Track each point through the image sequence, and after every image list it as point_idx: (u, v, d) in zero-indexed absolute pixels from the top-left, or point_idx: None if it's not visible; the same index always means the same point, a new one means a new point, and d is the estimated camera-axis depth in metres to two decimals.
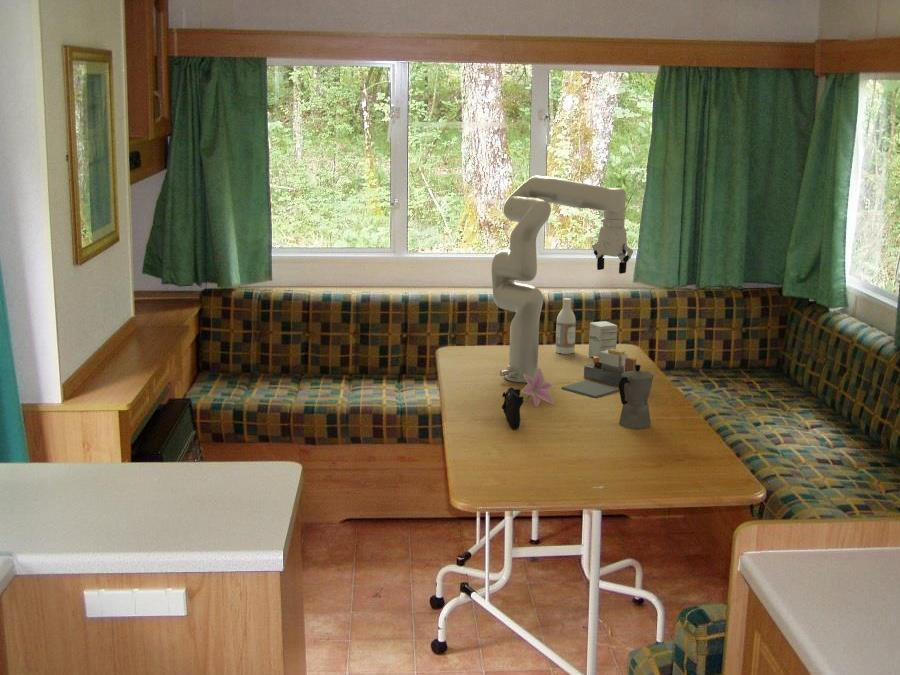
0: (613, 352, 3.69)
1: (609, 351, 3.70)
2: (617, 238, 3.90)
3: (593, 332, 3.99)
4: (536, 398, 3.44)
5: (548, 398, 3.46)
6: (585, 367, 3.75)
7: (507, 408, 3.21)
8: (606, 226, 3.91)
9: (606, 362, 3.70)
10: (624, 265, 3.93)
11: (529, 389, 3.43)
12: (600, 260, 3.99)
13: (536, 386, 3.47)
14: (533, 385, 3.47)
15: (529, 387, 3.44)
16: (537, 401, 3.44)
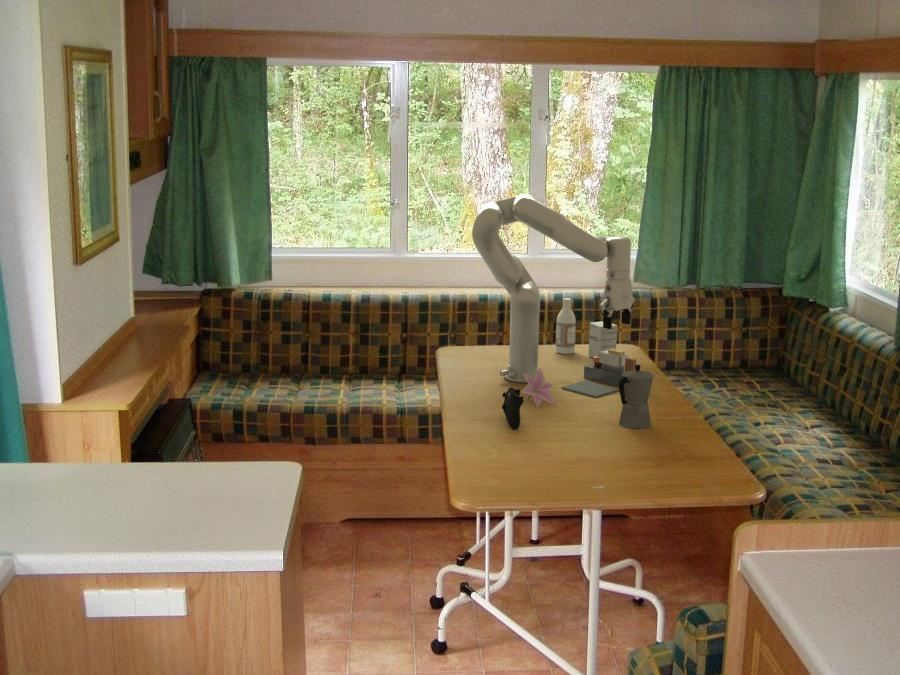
0: (613, 352, 3.69)
1: (609, 351, 3.70)
2: (631, 288, 3.66)
3: (593, 332, 3.99)
4: (537, 398, 3.44)
5: (549, 398, 3.46)
6: (585, 367, 3.75)
7: (507, 408, 3.21)
8: (626, 278, 3.62)
9: (606, 362, 3.70)
10: None
11: (530, 389, 3.43)
12: None
13: (537, 386, 3.47)
14: (534, 385, 3.46)
15: (530, 387, 3.44)
16: (538, 401, 3.44)
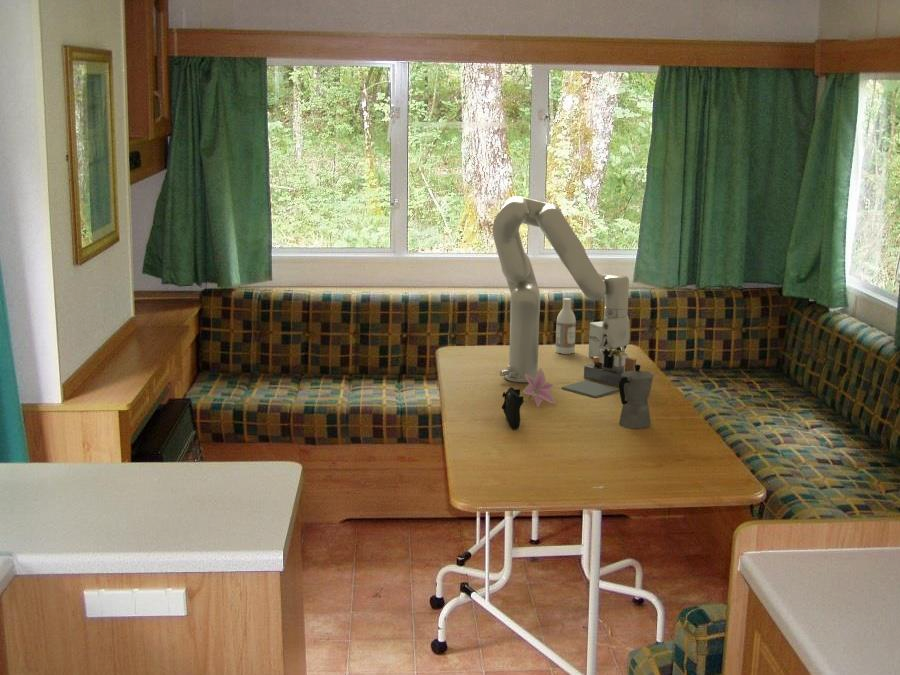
0: (613, 352, 3.69)
1: None
2: (628, 326, 3.69)
3: (593, 332, 3.99)
4: (538, 398, 3.44)
5: (550, 398, 3.46)
6: (585, 367, 3.75)
7: (507, 408, 3.21)
8: (624, 317, 3.65)
9: None
10: None
11: (531, 390, 3.43)
12: None
13: (537, 386, 3.47)
14: (534, 385, 3.46)
15: (531, 387, 3.44)
16: (538, 401, 3.44)
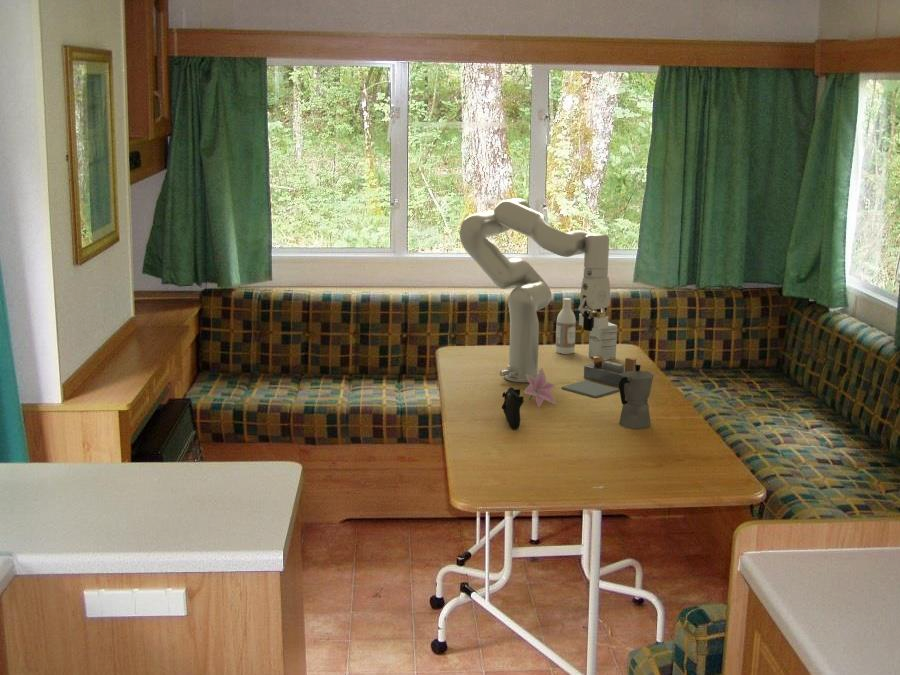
0: (593, 314, 3.54)
1: None
2: (609, 286, 3.55)
3: (593, 332, 3.99)
4: (539, 398, 3.44)
5: (551, 398, 3.46)
6: (585, 367, 3.75)
7: (507, 408, 3.21)
8: (604, 277, 3.50)
9: None
10: None
11: (532, 390, 3.43)
12: None
13: (538, 386, 3.47)
14: (535, 385, 3.46)
15: (532, 387, 3.44)
16: (539, 401, 3.44)
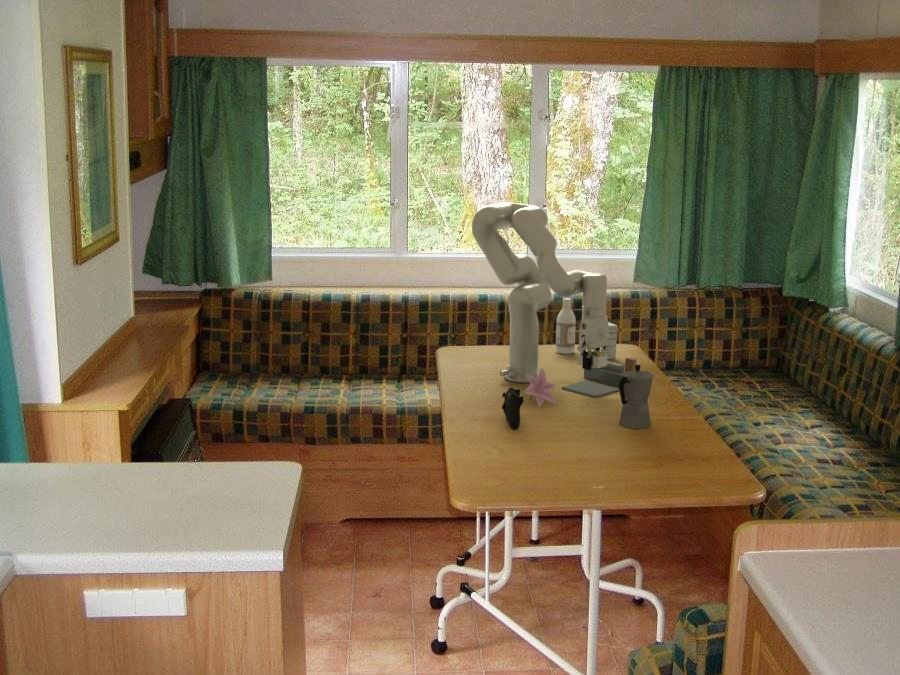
0: (592, 353, 3.57)
1: None
2: (607, 325, 3.58)
3: None
4: (540, 398, 3.44)
5: (551, 398, 3.46)
6: None
7: (507, 408, 3.21)
8: (602, 316, 3.53)
9: None
10: None
11: (532, 390, 3.43)
12: None
13: (539, 386, 3.47)
14: (536, 385, 3.46)
15: (532, 387, 3.44)
16: (540, 401, 3.44)
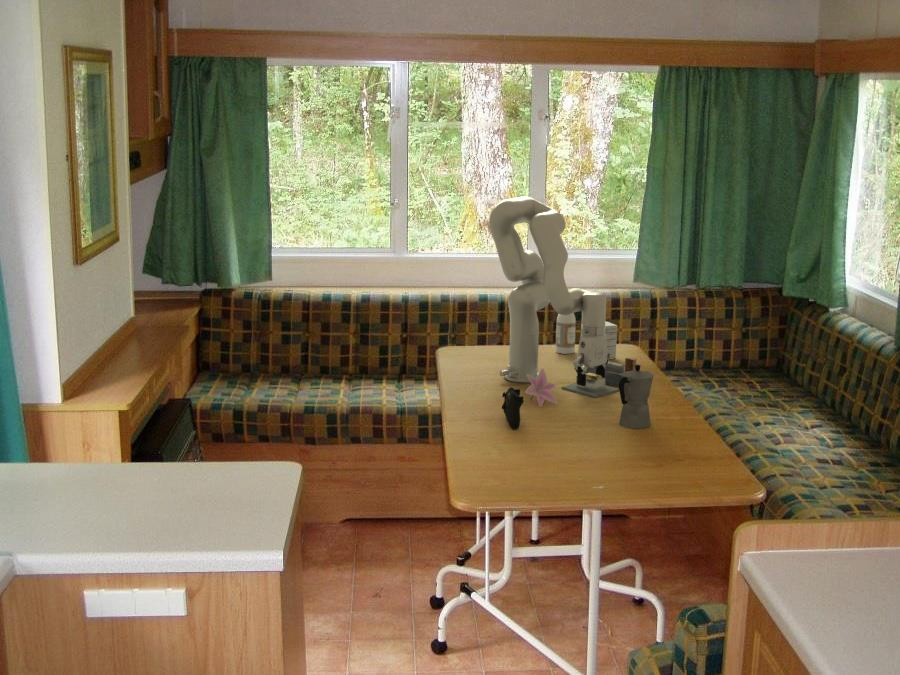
0: (590, 376, 3.59)
1: (586, 375, 3.60)
2: (606, 344, 3.59)
3: None
4: (540, 398, 3.44)
5: (552, 398, 3.46)
6: None
7: (507, 408, 3.21)
8: (601, 335, 3.55)
9: (583, 387, 3.60)
10: None
11: (533, 390, 3.43)
12: None
13: (539, 386, 3.47)
14: (536, 385, 3.46)
15: (533, 387, 3.43)
16: (541, 401, 3.43)
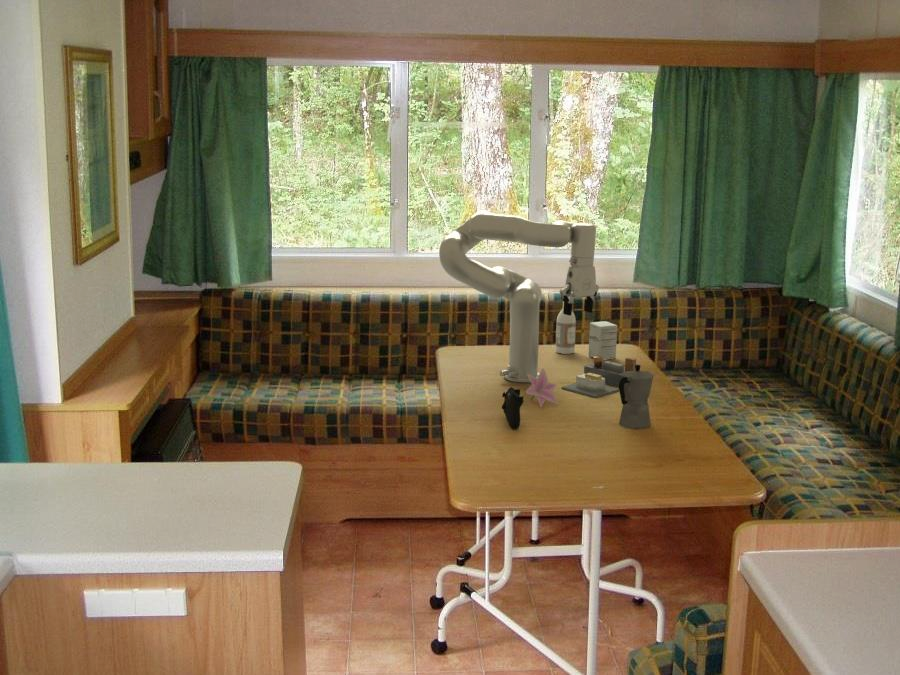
0: (590, 376, 3.59)
1: (586, 375, 3.60)
2: (594, 276, 3.64)
3: (593, 332, 3.99)
4: (541, 398, 3.44)
5: (553, 398, 3.46)
6: (585, 367, 3.75)
7: (507, 408, 3.21)
8: (589, 266, 3.60)
9: (583, 387, 3.60)
10: None
11: (534, 390, 3.43)
12: None
13: (540, 386, 3.47)
14: (537, 385, 3.46)
15: (533, 387, 3.43)
16: (541, 401, 3.43)
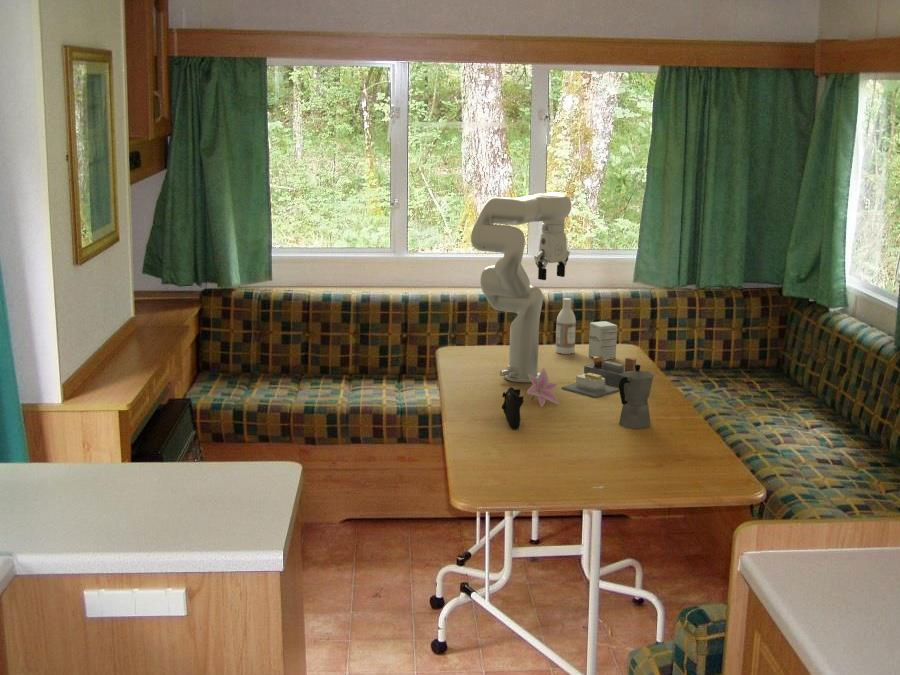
0: (590, 376, 3.59)
1: (586, 375, 3.60)
2: (565, 242, 3.86)
3: (593, 332, 3.99)
4: (542, 398, 3.44)
5: (553, 398, 3.46)
6: (585, 367, 3.75)
7: (507, 408, 3.21)
8: (561, 232, 3.81)
9: (583, 387, 3.60)
10: None
11: (534, 390, 3.43)
12: None
13: (541, 386, 3.47)
14: (538, 385, 3.46)
15: (534, 388, 3.43)
16: (542, 401, 3.43)
